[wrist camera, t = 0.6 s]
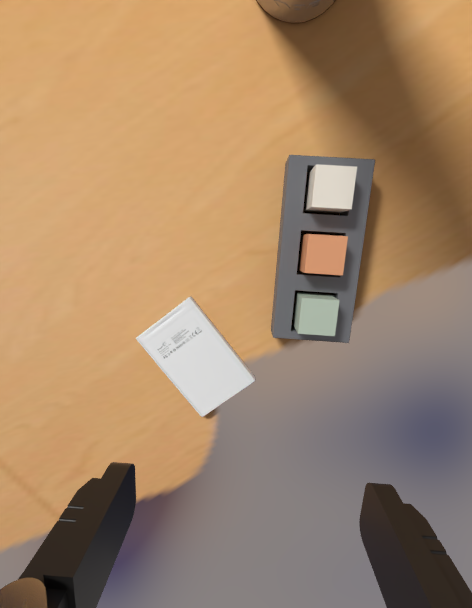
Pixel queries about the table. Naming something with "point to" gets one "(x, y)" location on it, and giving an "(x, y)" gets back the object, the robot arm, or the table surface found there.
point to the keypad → (298, 222)
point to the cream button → (330, 188)
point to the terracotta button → (323, 254)
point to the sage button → (315, 314)
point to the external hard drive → (196, 357)
